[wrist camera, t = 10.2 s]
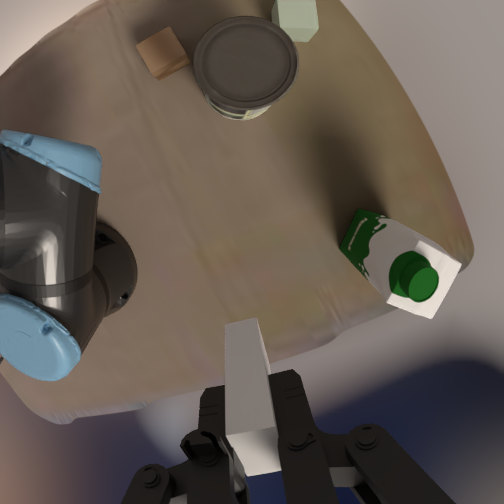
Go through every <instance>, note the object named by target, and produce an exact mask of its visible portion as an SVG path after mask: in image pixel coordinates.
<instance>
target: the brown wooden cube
mask: <svg viewBox="0 0 504 504" xmlns="http://www.w3.org/2000/svg"><path fill="white" fill-rule="evenodd" d="M135 46H136V47H137V49H138V51H139V53H140V54H141V56H142V58H143V60H144V61H145V63H146V65H147V66H148V68H149V70H150V72H151V73H152V74H153V75H154V76H155V77H156V78H157V79H158V80H159V81H160V80H162V79H163V78H165V77H167V76H169V75H170V74H172V73H174V72H176V71H177V70H179V69H181V68H183V67H184V66H186V65H188V64H190V63H191V62H190V60H189V58H188V56H187V54H186V52H185V51H184V49H183V47H182V46H181V44H180V42H179V41H178V39H177V37H176V36H175V34H174V33H173V31H172V29H171V28H170V26H168V27H166V28H165V29H163V30H161V31H159V32H157V33H156V34H154V35H152V36H150V37H149V38H147V39H145V40H144V41H142V42H140V43H139V44H137V45H135Z"/></svg>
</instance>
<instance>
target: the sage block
mask: <svg viewBox="0 0 504 504" xmlns="http://www.w3.org/2000/svg"><path fill="white" fill-rule="evenodd" d="M271 16H272V23H274V24H276V25H277V26H279V27H280V28H282V29H283V30H284V31H285V32H286V33H287V34H288V35H289V36H290V38H291V39H292V41H300V42H308V41H309V40H310V39H311V38H312V36H313V35H314V34H315V33H316V32H317V31H318V29H319V26H318V18H317V10H316V3H315V0H275V3H274V6H273V8H272V11H271Z"/></svg>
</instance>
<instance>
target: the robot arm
mask: <svg viewBox="0 0 504 504" xmlns="http://www.w3.org/2000/svg"><path fill="white" fill-rule="evenodd" d="M101 168H102V158H101V155H100V153H99V152H98V150H96V149H95V148H94V147H92V146H89V145H85V144H80V143H75V142H70V141H66V140H61V139H55V138H50V137H45V136H40V135H35V134H29V133H23V132H18V131H12V130H6V129H5V130H2V131H1V133H0V354H1V355H2V356H3V357H4V358H5V359H6V360H7V361H8V362H9V363H10V364H11V365H12V366H13V367H15V368H16V369H18V370H19V371H21V372H22V373H24V374H26V375H28V376H30V377H32V378H35V379H38V380H43V381H56V380H59V379H61V378H64V377H65V376H67V375H68V374H69V372H70V371H71V370H72V369H73V367H74V366H75V365H76V364H77V363H78V362H79V360H80V358H81V355H82V353H83V351H84V350H85V348H86V346H87V344H88V343H89V341H90V339H91V338H92V336H93V334H94V333H95V331H96V329H97V328H98V326H99V324H100V323H101V321H102V319H103V318H104V317H106V316H108V315H110V314H112V313H115V312H116V311H118V310H119V309H121V308H122V307H123V306H124V305H125V304H126V303H127V301H128V300H129V298H130V297H131V295H132V293H133V291H134V289H135V286H136V282H137V264H136V260H135V257H134V254H133V252H132V250H131V248H130V246H129V245H128V243H127V242H126V241H125V240H124V238H123V237H122V236H121V235H120V234H119V233H117V232H116V231H115V230H113V229H112V228H110V227H108V226H106V225H104V224H101V223H97V222H96V217H97V207H98V198H99V194H101V188H100V178H101ZM180 447H181V449H182V450H183V451H184V453H185V454H186V456H187V457H188V460H187V461H185V462H183V463H182V464H179V465H176V466H173V467H170V468H167V469H166V468H164V466H161V465H159V464H149V465H146V466H144V467H142V468H141V469H139V470H138V471H137V472H136V474H135V475H134V477H133V479H132V481H131V484H130V486H129V488H128V490H127V492H126V494H125V496H124V498H123V500H122V502H121V504H250V495H249V488H248V485H247V483H246V481H245V473H246V474H247V476H252V475H259V474H265V473H270V472H275V471H280V470H281V471H282V477H283V483H284V489H285V495H286V501H287V504H339V502H338V498H337V495H336V491H335V488H334V487H350V488H351V490H352V491H353V493H354V494H355V495H356V497H357V498H358V500H359V501H360V502H361V504H456V503H455V502H454V501H453V500H452V499H451V498H450V497H449V496H448V495H447V494H446V493H445V492H444V491H443V490H442V489H441V488H440V487H439V486H438V485H437V484H436V483H435V482H434V481H433V480H432V479H431V478H430V477H429V476H428V475H427V473H425V472H424V470H423V469H422V468H421V467H420V466H419V465H418V464H417V463H416V462H415V461H414V460H413V459H412V458H411V457H410V456H409V454H407V452H406V451H405V450H404V449H403V448H402V447H401V446H400V445H399V444H398V443H397V442H396V441H395V440H394V439H393V437H392V436H391V435H390V434H389V433H388V432H387V431H386V430H385V429H384V428H382V427H381V426H379V425H375V424H363V425H360V426H357V427H355V428H354V429H353V430H351V431H350V432H349V434H340V435H336V434H328V433H324V432H322V431H321V430H319V429H318V428H317V427H316V425H315V423H314V420H313V417H312V414H311V410H310V407H309V404H308V401H307V397H306V394H305V390H304V387H303V384H302V380H301V377H300V375H299V374H297V373H296V372H295V371H294V370H293V369H291V370H287V371H283V372H279V373H275V374H271V371H270V366H269V361H268V357H267V354H266V350H265V346H264V343H263V339H262V335H261V332H260V328H259V324H258V321H257V317H255V318H251V319H247V320H242V321H238V322H234V323H229V324H225V385H222V386H216V387H211V388H206V389H205V391H204V392H203V394H202V396H201V398H200V410H199V424H198V429H197V430H194V431H192V432H190V433H189V434H187V435H186V436H185V437H184V438H183V439H182V442H181V444H180Z"/></svg>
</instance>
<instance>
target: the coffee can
mask: <svg viewBox="0 0 504 504" xmlns="http://www.w3.org/2000/svg"><path fill="white" fill-rule="evenodd" d="M193 70H194V75H195V78H196V80H197V82H198V84H199V86H200V87H201V89H202V90H203V92H204V94H205V97H206V100H207V102H208V103H209V105H210V106H211V107H212V108H213V110H214V111H216V112H217V113H218V114H220V115H222V116H223V117H226V118H229V119H233V120H248V119H252V118H255V117H257V116H259V115H261V114H262V113H264V112H265V111H266V110H267V109H268V108H269V107H270V106H271V105H272V104H274V103H275V102H277V101H279V100H280V99H281V98H282V97H284V96H285V95H286V94H287V93H288V92H289V90H290V89H291V87H292V86H293V84H294V83H295V80H296V78H297V75H298V70H299V56H298V52H297V49H296V46H295V44H294V42H293V41H292V39H291V38H290V36H289V35H288V34H287V33H286V32H285V31H284V30H283V29H282V28H280V27H279V26H277V25H276V24H274V23H272V22H270V21H268V20H266V19H263V18H259V17H254V16H238V17H232V18H228V19H225V20H223V21H220V22H218V23H217V24H215V25H214V26H212V27H211V28H210V29H208V30H207V31H206V32H205V33H204V35H203V36H202V37H201V38H200V40H199V42H198V43H197V45H196V48H195V51H194V56H193Z"/></svg>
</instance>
